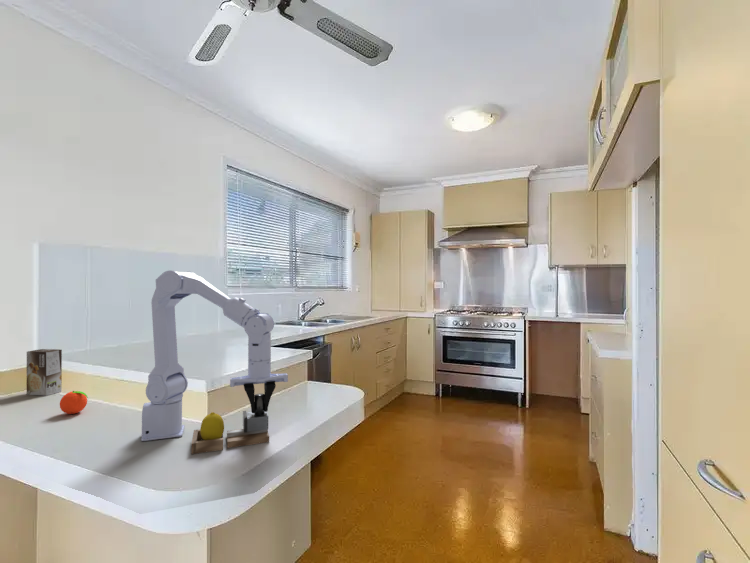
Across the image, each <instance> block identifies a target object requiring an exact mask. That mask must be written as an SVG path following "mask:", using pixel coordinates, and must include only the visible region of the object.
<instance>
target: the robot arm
mask: <svg viewBox="0 0 750 563" xmlns="http://www.w3.org/2000/svg"><path fill="white" fill-rule="evenodd" d="M153 292H154V293H153V295H152V298H151V302H150V303H151V319H152V335H153V349H154V350H153V351H154V367H153V368H152V370H151V371H150V373H149V374H148V377H147V378H148V381H147V384H146V388H145V396H146V398H147V400H148V401H149V402H144V403H143V406H142V409H141V410H142V411H141V440H140V442H147V441H154V440H163V439H170V438H178V437H180V438H181V437H183V435H184V430H185V424H183V396H184V393H185V391H186V390H187V388H188V383H189V381H188V378H187V377H186V375H185V372H184V370H185V369H184V367H183V366H182V365H181V364H180V363H179V360H178V359H179V357H178V341H177V340H178V339H177V327H176V326H177V324H176V306H177V305H178V303H180V302H181V301H182V300H183V299H184V298H187V297H188V296H190V295H192V294H193V295H199V296H200V297H202V298H204V299H205V300H207V301H208V302H211V303H213V304H214V305H215V306H217V307H219V308H221V309H222V313H223V315H224V316H225V317H227V318H228V319H230V320H231V321H233V322H234V323H236V324H237V325H239V326H240V327H241V328H243V329H244V331H245V333H246V335H247V336H248V340H247V341H248V342H247V345H248V347H247V348H248V349H247V350H248V351H247V352H248V354H247V361H248V362H247V375H242V376H236V377H235V376H234V377H230V378H229V387H231V388H232V387H236V386H237V387H238V386H243V389H244V391H245V393H246V395H247V398H248V400H249V404H250V409H251V411H250V412H252V413H255V405H254V395H255V385H259V384H260V385H261V384H263V388H264V394H265V412H267V413H268V411H269V410H268V409H269V404H270V402H271V401H270V400H271V398H272V395H273V393H274V391H275V389H276V388H277V387H276V386H277V385H276V383H282V382H283V383H287V382H289V375H288V373H285V372H284V373H272V372H271V371H272V367H271V364H272V362H271V361H272V360H271V359H272V358H271V356H272V354H271V353H272V349H271V347H272V343H271V341H272V340H271V339H272V337H271V335H272V334H271V332H272V330H273V329H274V326H275V322H274V319H273V317H272V316H271V315H270V314H269V313H268V312H261V310H260V309H259V308H256V307H253V306H251V304H248V303H247V302H246V299H245V298H244V297H232V298H231V297H229V296H228V295H227V294H225V293H224V292H222V291H221V290H219V289H218V288H216V287H215V286H214V285H212V284H211V283H210V282H208V281H207V280H205V278H203V277H202V276H200V275H197V274H196V273H195V272H193V271H175V270H169V269H168V270H166V271H164V272H162V273H161V274H160V275H159V276H158V277H157V278H156V279H155V290H154V291H153Z"/></svg>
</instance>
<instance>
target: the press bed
mask: <svg viewBox="0 0 750 563" xmlns="http://www.w3.org/2000/svg"><path fill="white" fill-rule="evenodd" d="M226 443H227V444H226V445H227V449H229V448H237V447H243V446H244V447H245V446H251V445H259V444H265V443H270V434H269V428H268V429H267V430H259V431H251V432H246V433H244V430H243V428H240V429H239V428H238V429H230V430H226Z"/></svg>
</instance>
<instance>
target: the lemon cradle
mask: <svg viewBox="0 0 750 563" xmlns="http://www.w3.org/2000/svg"><path fill="white" fill-rule="evenodd" d="M200 429H201V428H200ZM200 429H194V430H193V434H192V439H191V443H190V444H191V450H190V451H191V453H190V454H191V455H197V454H203V453H210V452H217V451H223V450H224V434H223V435H222V437H221V438H219V439H212V440H203V438H202V436H201V432H200Z"/></svg>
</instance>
